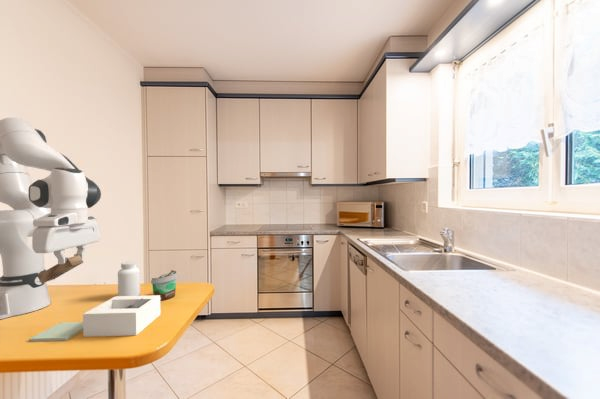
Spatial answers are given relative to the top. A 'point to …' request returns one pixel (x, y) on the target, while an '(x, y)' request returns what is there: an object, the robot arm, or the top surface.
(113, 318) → the pocket jig
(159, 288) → the food container
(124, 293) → the pill bottle
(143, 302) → the cradle
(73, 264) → the walnut slab
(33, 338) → the sage pad
